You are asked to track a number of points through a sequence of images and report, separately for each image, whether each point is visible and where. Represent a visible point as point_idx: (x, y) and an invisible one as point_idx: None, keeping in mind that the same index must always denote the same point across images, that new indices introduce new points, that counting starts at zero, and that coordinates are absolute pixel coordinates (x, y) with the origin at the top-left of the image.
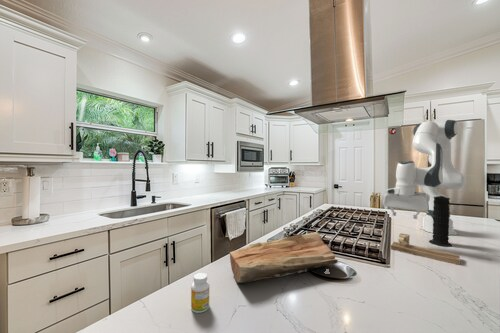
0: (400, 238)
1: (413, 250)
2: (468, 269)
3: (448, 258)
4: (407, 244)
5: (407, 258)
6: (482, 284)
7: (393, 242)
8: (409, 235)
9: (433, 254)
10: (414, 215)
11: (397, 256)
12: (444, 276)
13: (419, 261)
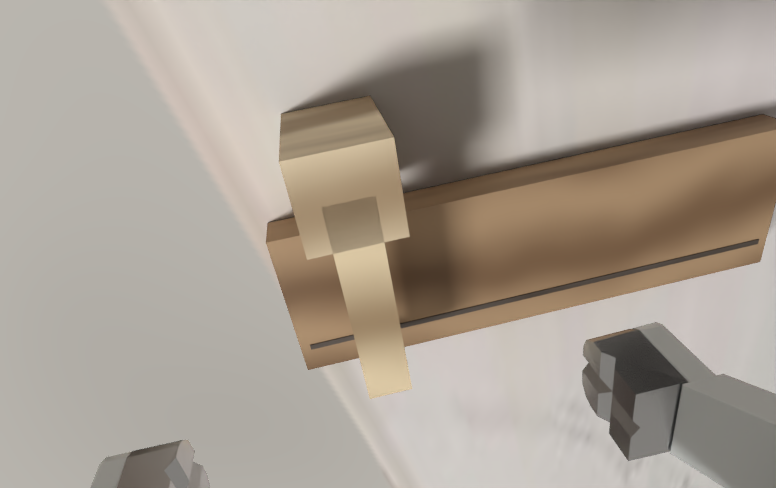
0: (381, 377)
1: (479, 327)
2: (766, 272)
3: (698, 275)
4: None
5: (459, 401)
6: None
7: (278, 280)
8: (391, 134)
9: (612, 292)
10: (647, 451)
11: (402, 422)
12: None
13: (525, 386)
